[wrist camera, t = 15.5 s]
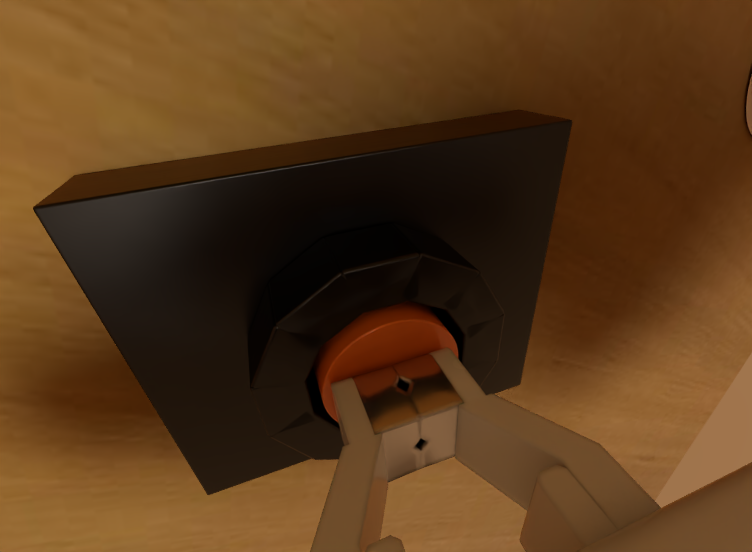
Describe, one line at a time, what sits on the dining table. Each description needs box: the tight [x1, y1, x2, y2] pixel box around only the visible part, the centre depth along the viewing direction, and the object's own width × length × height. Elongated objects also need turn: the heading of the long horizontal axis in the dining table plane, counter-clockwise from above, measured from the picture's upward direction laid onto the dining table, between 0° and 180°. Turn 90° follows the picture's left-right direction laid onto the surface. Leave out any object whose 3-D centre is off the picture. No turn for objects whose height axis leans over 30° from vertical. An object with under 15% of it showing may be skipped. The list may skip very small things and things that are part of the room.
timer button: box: [313, 301, 458, 422], centre depth 10 cm, size 4×4×2 cm
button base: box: [33, 110, 572, 495], centre depth 11 cm, size 12×10×4 cm
